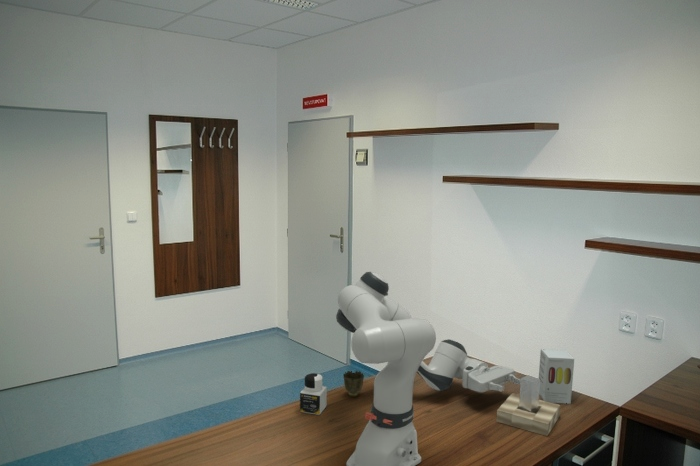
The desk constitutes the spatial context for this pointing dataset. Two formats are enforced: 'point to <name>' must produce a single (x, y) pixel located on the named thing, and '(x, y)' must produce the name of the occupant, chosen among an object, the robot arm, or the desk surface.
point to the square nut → (528, 415)
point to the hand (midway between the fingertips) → (511, 385)
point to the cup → (353, 382)
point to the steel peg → (529, 394)
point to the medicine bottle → (313, 395)
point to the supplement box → (556, 376)
